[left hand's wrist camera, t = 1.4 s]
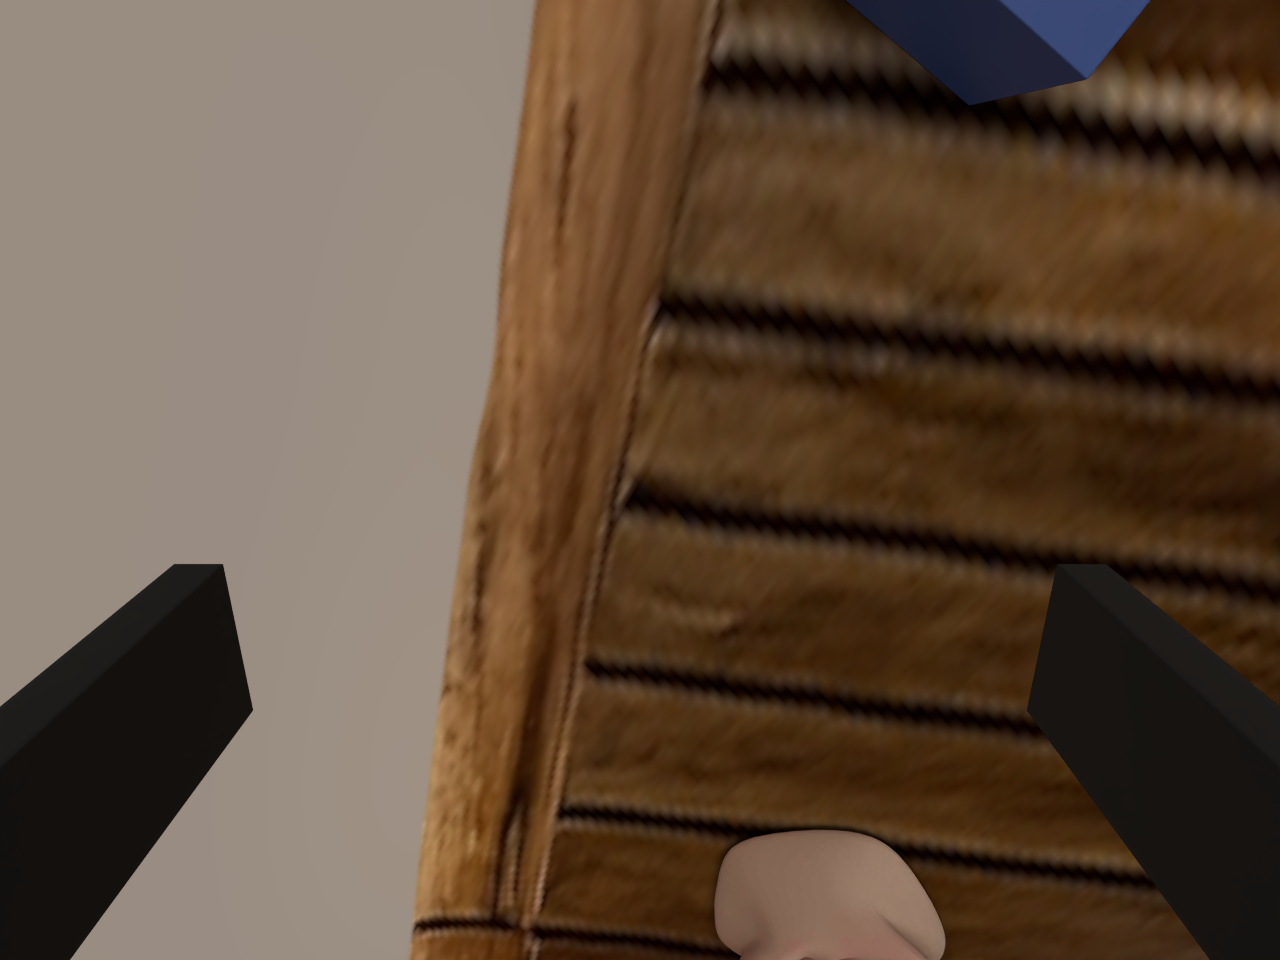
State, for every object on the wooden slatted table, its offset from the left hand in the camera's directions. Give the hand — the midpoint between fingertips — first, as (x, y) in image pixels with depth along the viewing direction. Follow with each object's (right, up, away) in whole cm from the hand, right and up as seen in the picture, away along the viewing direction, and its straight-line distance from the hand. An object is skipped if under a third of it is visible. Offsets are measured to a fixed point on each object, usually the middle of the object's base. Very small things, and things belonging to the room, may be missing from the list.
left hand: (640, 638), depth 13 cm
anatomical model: (+10, -21, +30) cm, 38 cm away
